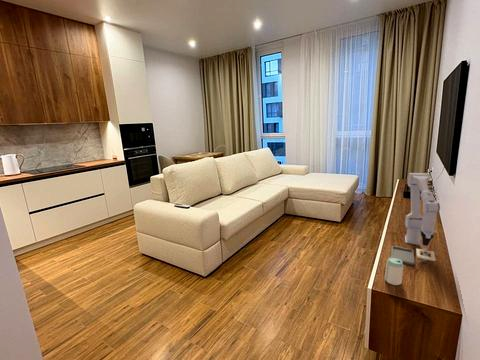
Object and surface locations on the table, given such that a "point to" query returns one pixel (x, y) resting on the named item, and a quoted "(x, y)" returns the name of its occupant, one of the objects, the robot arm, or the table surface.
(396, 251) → the tray
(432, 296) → the table surface
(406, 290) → the table surface
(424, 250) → the square frame with handle
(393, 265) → the can
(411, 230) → the robot arm
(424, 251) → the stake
